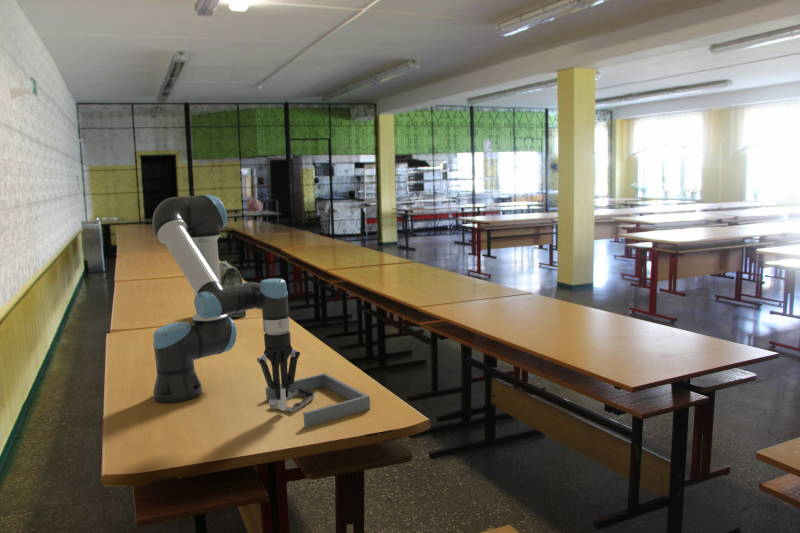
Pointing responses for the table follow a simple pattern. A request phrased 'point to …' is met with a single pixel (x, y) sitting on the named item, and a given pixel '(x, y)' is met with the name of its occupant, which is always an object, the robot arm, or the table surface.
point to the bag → (230, 282)
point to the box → (328, 413)
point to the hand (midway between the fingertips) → (282, 408)
